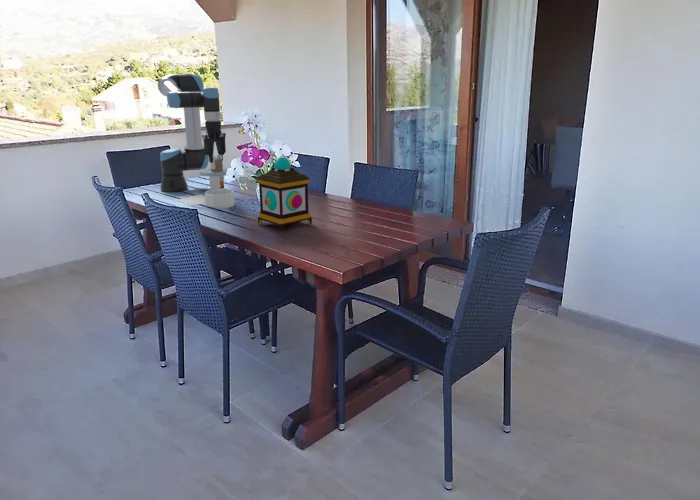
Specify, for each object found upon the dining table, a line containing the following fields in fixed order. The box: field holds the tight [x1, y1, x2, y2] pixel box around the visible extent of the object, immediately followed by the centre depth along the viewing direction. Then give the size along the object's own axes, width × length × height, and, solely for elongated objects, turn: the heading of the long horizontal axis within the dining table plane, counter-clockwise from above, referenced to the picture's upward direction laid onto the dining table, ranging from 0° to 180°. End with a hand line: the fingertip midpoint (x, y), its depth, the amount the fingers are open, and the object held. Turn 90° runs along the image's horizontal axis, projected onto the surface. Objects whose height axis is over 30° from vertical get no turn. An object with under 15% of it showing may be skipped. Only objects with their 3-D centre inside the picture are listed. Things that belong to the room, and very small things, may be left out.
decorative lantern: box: [255, 156, 313, 233], centre depth 220 cm, size 20×20×30 cm
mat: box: [173, 194, 206, 206], centre depth 270 cm, size 18×18×1 cm
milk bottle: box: [208, 156, 225, 190], centre depth 286 cm, size 8×8×20 cm
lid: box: [199, 159, 229, 177], centre depth 253 cm, size 17×17×7 cm
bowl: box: [204, 188, 235, 209], centre depth 259 cm, size 14×14×7 cm
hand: (216, 168), depth 254 cm, fingers closed on lid, 4 cm apart
